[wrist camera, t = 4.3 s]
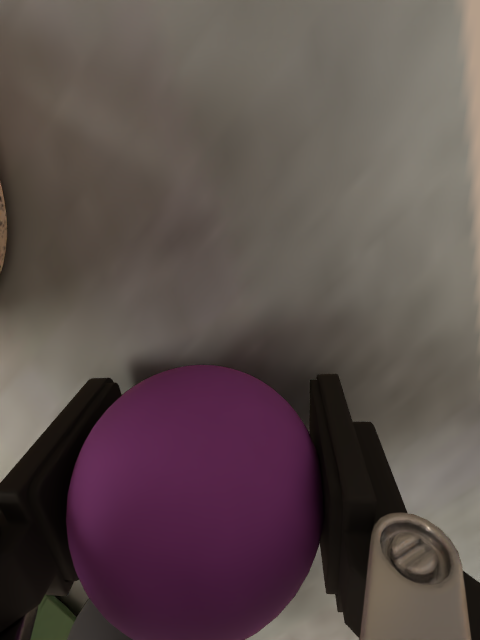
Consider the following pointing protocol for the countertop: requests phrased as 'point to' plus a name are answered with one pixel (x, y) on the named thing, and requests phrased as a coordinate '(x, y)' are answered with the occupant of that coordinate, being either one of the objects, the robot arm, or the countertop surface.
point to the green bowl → (52, 620)
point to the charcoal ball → (94, 626)
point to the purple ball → (195, 506)
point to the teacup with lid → (2, 228)
